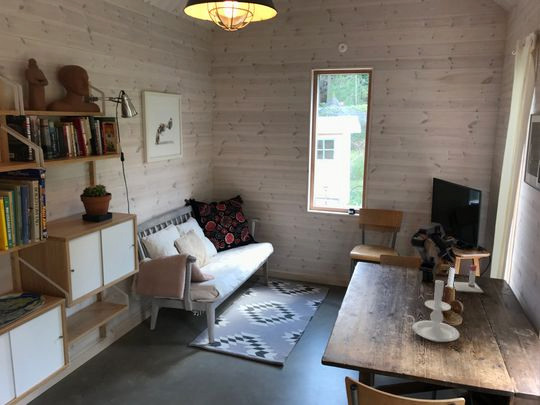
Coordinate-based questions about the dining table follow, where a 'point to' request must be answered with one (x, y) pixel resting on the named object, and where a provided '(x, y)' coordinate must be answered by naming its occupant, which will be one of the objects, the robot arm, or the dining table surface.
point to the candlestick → (435, 319)
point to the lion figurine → (442, 267)
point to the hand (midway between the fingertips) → (454, 260)
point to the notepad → (466, 287)
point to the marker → (472, 276)
